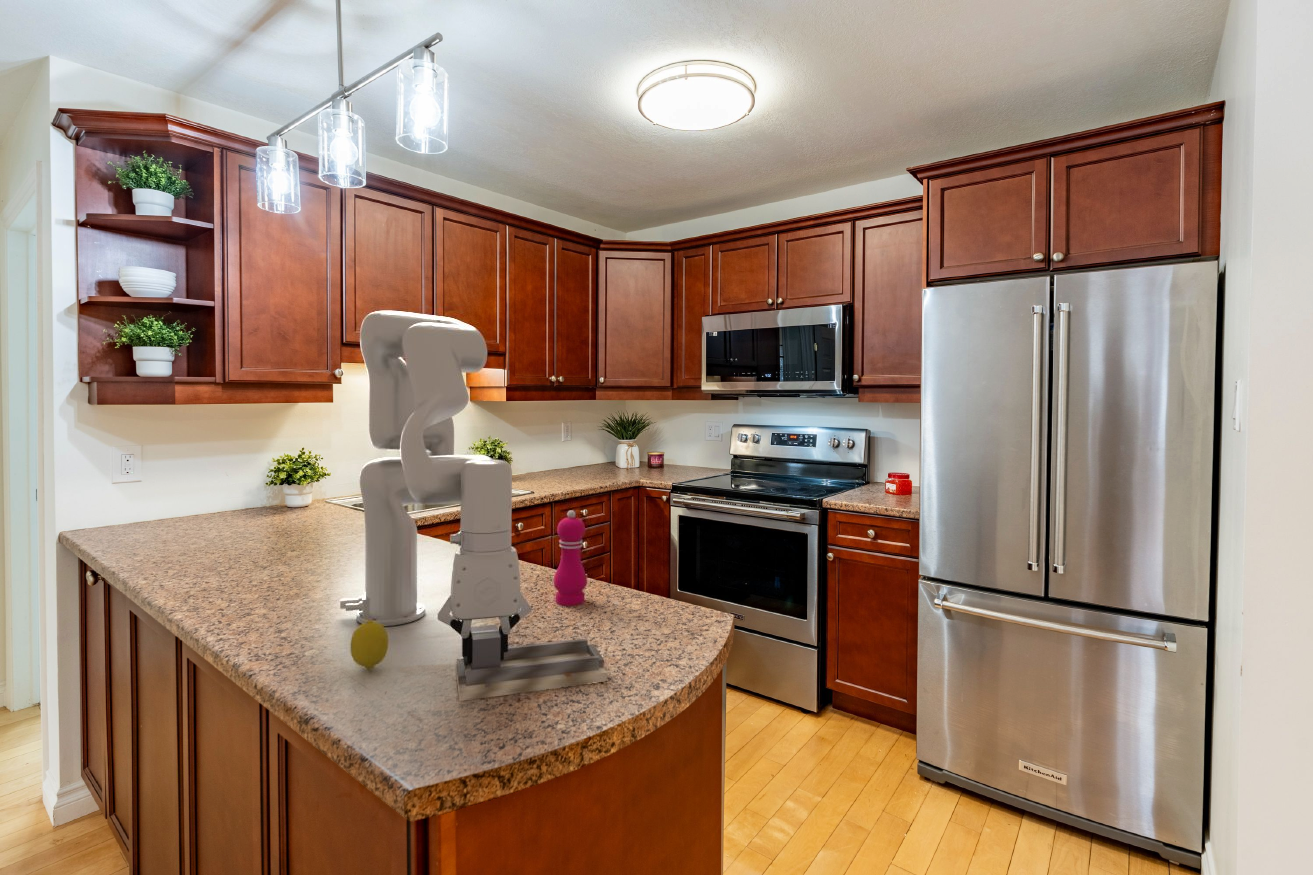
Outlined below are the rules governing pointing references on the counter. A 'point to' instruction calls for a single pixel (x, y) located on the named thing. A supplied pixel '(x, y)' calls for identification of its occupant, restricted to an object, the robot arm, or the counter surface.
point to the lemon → (369, 644)
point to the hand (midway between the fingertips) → (485, 657)
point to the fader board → (533, 670)
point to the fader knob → (485, 647)
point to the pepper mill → (570, 562)
